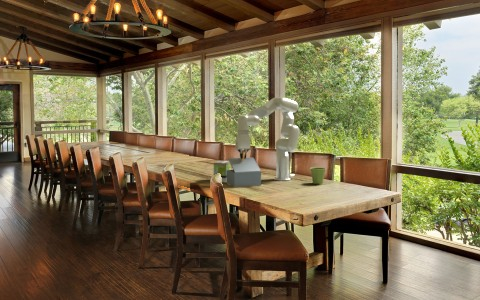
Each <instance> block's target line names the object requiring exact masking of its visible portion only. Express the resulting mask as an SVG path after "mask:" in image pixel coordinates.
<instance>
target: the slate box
mask: <svg viewBox="0 0 480 300" xmlns="http://www.w3.org/2000/svg"><path fill="white" fill-rule="evenodd" d="M226 184H227V185H228V184H229V186H231V187H233V188H245V187H246V188H247V187H248V188H249V187H259V186H260V187H261V186H262V171H261V172H244V173H235V172H234V170H233V169H231V170H227V182H226Z"/></svg>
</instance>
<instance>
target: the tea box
mask: <svg viewBox="0 0 480 300" xmlns="http://www.w3.org/2000/svg"><path fill="white" fill-rule="evenodd" d="M231 168H232V166H231V164H230V162H229V160H216V161H214V162H213V174H212V175H215V174H217V173H220V174H221V177H222V182H221V183H227V170H232V169H231Z"/></svg>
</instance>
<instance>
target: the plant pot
mask: <svg viewBox="0 0 480 300" xmlns="http://www.w3.org/2000/svg"><path fill="white" fill-rule="evenodd" d="M309 170H310V172H311V178H312V179H311V180H312V184H314V185H323V183H324V179H325V174H326V170H327V168H326V167H316V166H315V167H314V166H313V167H310V168H309Z"/></svg>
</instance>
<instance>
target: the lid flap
mask: <svg viewBox="0 0 480 300" xmlns="http://www.w3.org/2000/svg"><path fill="white" fill-rule="evenodd" d="M242 153H243V159H241V158H240V157H235V158H234V157H233V158H231V157H230V158H227V161H229V162H230V164H231V168H232V170H234V172H235V173H244V172H261V173H262V169H261V168H260V166H259V165H258V163H257V161H256V160H255V158H254V157H246V159H244V157H245V151H244V149H242Z"/></svg>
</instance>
